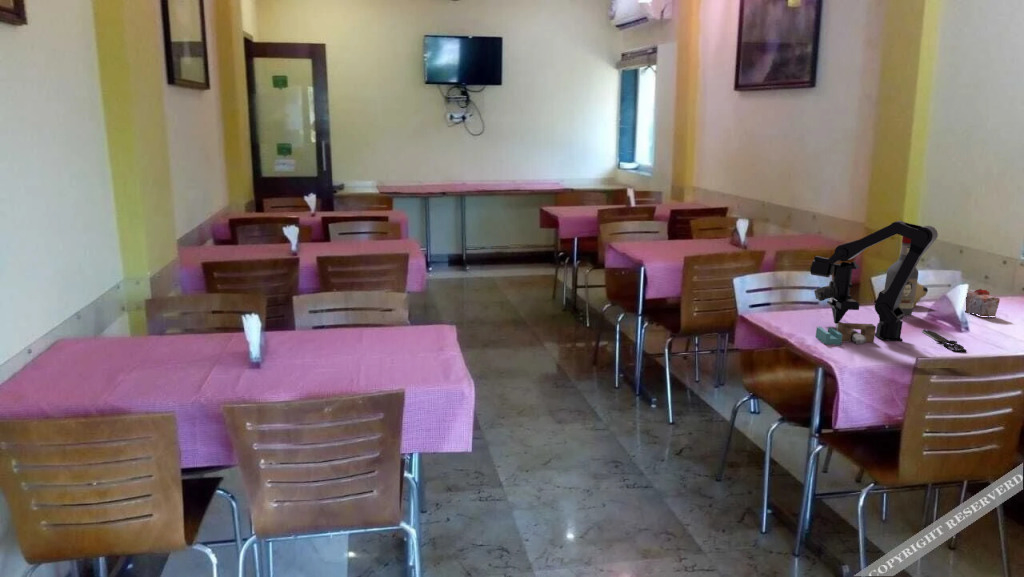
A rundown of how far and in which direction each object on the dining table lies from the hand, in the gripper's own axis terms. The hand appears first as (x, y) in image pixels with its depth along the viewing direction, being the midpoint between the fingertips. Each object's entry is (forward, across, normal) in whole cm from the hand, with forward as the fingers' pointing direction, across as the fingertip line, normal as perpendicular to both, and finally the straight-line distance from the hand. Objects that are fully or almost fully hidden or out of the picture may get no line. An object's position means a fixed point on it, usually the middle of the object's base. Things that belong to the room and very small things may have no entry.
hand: (836, 323), depth 268 cm
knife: (+2, +12, +30) cm, 33 cm away
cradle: (+2, +17, -10) cm, 20 cm away
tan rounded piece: (+2, -37, +44) cm, 57 cm away
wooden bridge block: (+2, +16, 0) cm, 16 cm away
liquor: (+2, -24, +33) cm, 41 cm away
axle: (+2, +12, 0) cm, 12 cm away
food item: (+2, -26, +65) cm, 70 cm away
